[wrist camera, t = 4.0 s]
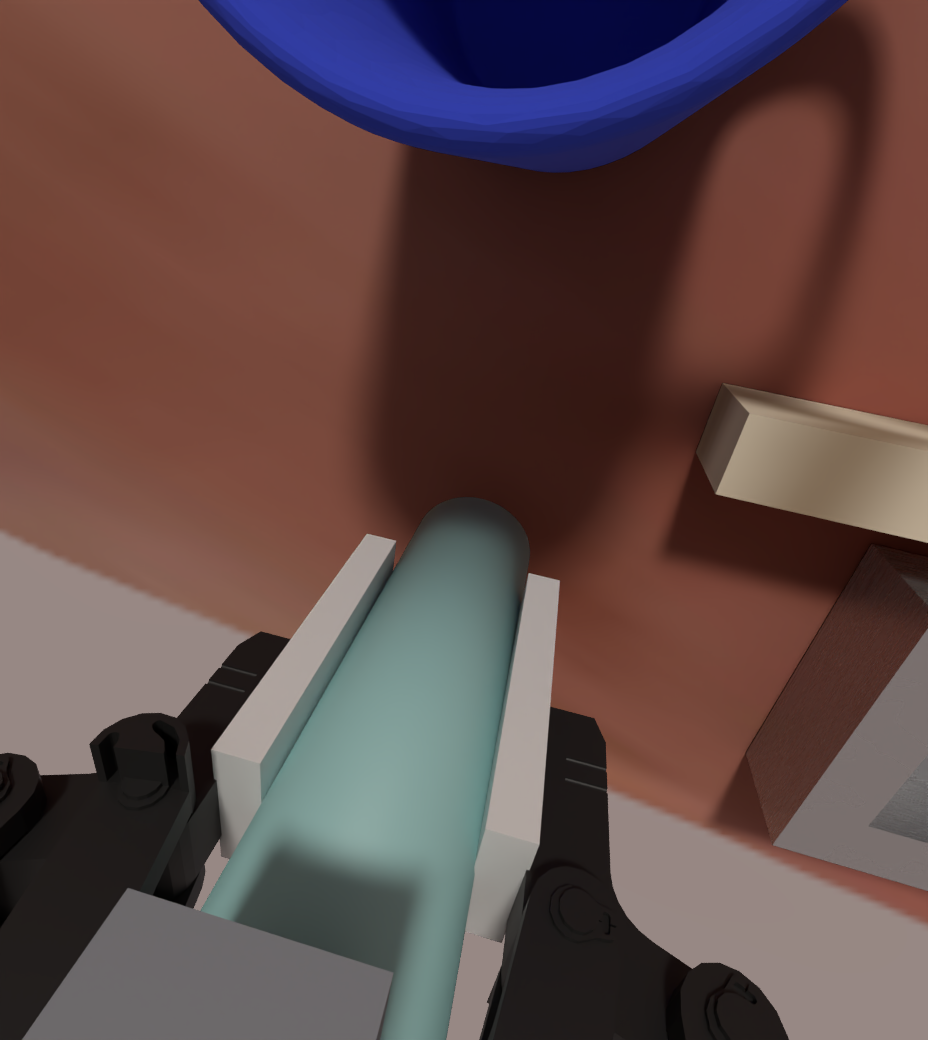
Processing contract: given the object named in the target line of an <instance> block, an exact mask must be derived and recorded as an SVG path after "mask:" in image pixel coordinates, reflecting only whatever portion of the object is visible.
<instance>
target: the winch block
mask: <svg viewBox="0 0 928 1040" xmlns="http://www.w3.org/2000/svg"><path fill="white" fill-rule="evenodd" d="M746 756H747V759H748V763H749V766H750V770H751V773H752V777H753V780H754V783H755V787H756V790H757V794H758V797H759V801H760V804H761V807H762V811H763V814H764V818H765V821H766V825H767V828H768V832H769V835H770V838H771V842H772V845H774V846H777V847H781V848H784V849H787V850H791V851H794V852H798V853H801V854H804V855H808V856H811V857H814V858H818V859H821V860H825V861H828V862H831V863H835V864H838V865H842V866H845V867H848V868H852V869H855V870H859V871H862V872H865V873H869V874H872V875H876V876H879V877H882V878H886V879H889V880H892V881H896V882H899V883H903V884H906V885H909V886H913V887H916V888H920V889H923V890H926V891H928V557H927V556H923V555H918V554H914V553H910V552H905V551H901V550H897V549H892V548H888V547H884V546H879V545H875V544H871V545H870V547H869V549H868V550H867V552H866V554H865V555H864V557H863V559H862V560H861V562H860V564H859V565H858V567H857V569H856V570H855V572H854V574H853V575H852V577H851V579H850V580H849V582H848V584H847V585H846V587H845V589H844V590H843V592H842V594H841V595H840V597H839V599H838V600H837V602H836V604H835V605H834V607H833V609H832V610H831V612H830V614H829V615H828V617H827V619H826V620H825V622H824V624H823V625H822V627H821V629H820V630H819V632H818V634H817V635H816V637H815V639H814V640H813V642H812V644H811V645H810V647H809V649H808V650H807V652H806V654H805V655H804V657H803V659H802V660H801V662H800V664H799V665H798V667H797V669H796V670H795V672H794V674H793V675H792V677H791V679H790V680H789V682H788V684H787V685H786V687H785V689H784V690H783V692H782V694H781V695H780V697H779V699H778V700H777V702H776V704H775V705H774V707H773V709H772V710H771V712H770V714H769V715H768V717H767V719H766V720H765V722H764V724H763V725H762V727H761V729H760V730H759V732H758V734H757V735H756V737H755V739H754V741H753V742H752V744H751V746H750V747H749V749H748V751H747V752H746Z"/></svg>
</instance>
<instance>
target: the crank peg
mask: <svg viewBox="0 0 928 1040" xmlns="http://www.w3.org/2000/svg"><path fill="white" fill-rule="evenodd" d="M529 559H530V547H529V541H528V538H527V535H526V533H525V531H524V529H523V527H522V526H521V524H520V523H519V522H518V520H517V519H516V518H515V517H514V516H513V515H512V514H511V513H510V512H508V511H507V510H506V509H504V508H503V507H501V506H499V505H498V504H495V503H493V502H491V501H488V500H484V499H481V498H475V497H459V498H454V499H450V500H447V501H444V502H442V503H440V504H438V505H436V506H435V507H434V508H432V509H431V510H430V511H429V512H428V513H427V514H426V515H425V516H424V518H423V519H422V521H421V523H420V525H419V526H418V528H417V530H416V532H415V533H414V535H413V537H412V539H411V540H410V542H409V544H408V546H407V547H406V549H405V551H404V553H403V554H402V556H401V558H400V560H399V562H398V563H397V565H396V567H395V569H394V570H393V572H392V574H391V576H390V577H389V579H388V581H387V583H386V584H385V586H384V588H383V590H382V592H381V593H380V595H379V597H378V599H377V600H376V602H375V604H374V606H373V607H372V609H371V611H370V613H369V614H368V616H367V618H366V620H365V621H364V623H363V625H362V627H361V629H360V630H359V632H358V634H357V636H356V637H355V639H354V641H353V643H352V644H351V646H350V648H349V650H348V651H347V653H346V655H345V657H344V659H343V660H342V662H341V664H340V666H339V667H338V669H337V671H336V673H335V674H334V676H333V678H332V680H331V681H330V683H329V685H328V687H327V688H326V690H325V692H324V694H323V696H322V697H321V699H320V701H319V703H318V704H317V706H316V708H315V710H314V711H313V713H312V715H311V717H310V718H309V720H308V722H307V724H306V726H305V727H304V729H303V731H302V733H301V734H300V736H299V738H298V740H297V741H296V743H295V745H294V747H293V748H292V750H291V752H290V754H289V755H288V757H287V759H286V761H285V763H284V764H283V766H282V768H281V770H280V771H279V773H278V775H277V777H276V778H275V780H274V782H273V784H272V785H271V787H270V789H269V791H268V793H267V794H266V796H265V798H264V800H263V801H262V803H261V805H260V807H259V808H258V810H257V812H256V814H255V815H254V817H253V819H252V821H251V822H250V824H249V826H248V828H247V830H246V831H245V833H244V835H243V837H242V838H241V840H240V842H239V844H238V845H237V847H236V849H235V851H234V852H233V854H232V856H231V858H230V860H229V861H228V863H227V865H226V867H225V868H224V870H223V872H222V874H221V875H220V877H219V879H218V881H217V882H216V884H215V886H214V888H213V890H212V891H211V893H210V895H209V897H208V898H207V900H206V902H205V904H204V905H203V907H202V909H201V911H198V910H195V909H192V908H189V907H186V906H183V905H180V904H177V903H174V902H170V901H167V900H164V899H161V898H158V897H155V896H152V895H148V894H145V893H142V892H139V891H136V890H133V889H130V888H127V890H126V891H125V893H124V894H123V896H122V897H121V898H120V900H119V901H118V903H117V904H116V906H115V907H114V908H113V910H112V911H111V913H110V914H109V916H108V917H107V919H106V920H105V921H104V923H103V924H102V926H101V927H100V929H99V930H98V931H97V933H96V934H95V936H94V937H93V939H92V940H91V941H90V943H89V944H88V946H87V947H86V949H85V950H84V952H83V953H82V954H81V956H80V957H79V959H78V960H77V962H76V963H75V964H74V966H73V967H72V969H71V970H70V972H69V973H68V974H67V976H66V977H65V979H64V980H63V982H62V983H61V985H60V986H59V987H58V989H57V990H56V992H55V993H54V995H53V996H52V997H51V999H50V1000H49V1002H48V1003H47V1005H46V1006H45V1007H44V1009H43V1010H42V1012H41V1013H40V1015H39V1016H38V1017H37V1019H36V1020H35V1022H34V1023H33V1025H32V1026H31V1028H30V1029H29V1030H28V1032H27V1033H26V1035H25V1036H24V1038H23V1039H22V1040H446V1037H447V1031H448V1026H449V1020H450V1015H451V1009H452V1003H453V997H454V991H455V986H456V980H457V974H458V968H459V963H460V957H461V951H462V945H463V940H464V934H465V928H466V922H467V917H468V911H469V905H470V899H471V893H472V888H473V882H474V876H475V871H474V865H475V860H476V854H477V848H478V843H479V837H480V831H481V826H482V820H483V814H484V809H485V803H486V798H487V792H488V786H489V781H490V775H491V769H492V764H493V758H494V752H495V747H496V741H497V735H498V730H499V724H500V718H501V713H502V707H503V701H504V696H505V690H506V684H507V679H508V673H509V667H510V662H511V656H512V650H513V645H514V639H515V633H516V628H517V622H518V616H519V611H520V605H521V601H522V597H523V593H524V588H525V582H526V576H527V570H528V565H529Z"/></svg>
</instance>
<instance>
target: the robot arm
mask: <svg viewBox="0 0 928 1040" xmlns="http://www.w3.org/2000/svg"><path fill="white" fill-rule="evenodd" d="M395 548H396V541H395V540H391V539H387V538H383V537H379V536H374V535H370V534H366V536H365V537H364V539H363V540H362V541H361V543H360V544H359V546H358V547H357V548H356V550H355V551H354V552H353V554H352V555H351V557H350V558H349V559H348V561H347V562H346V564H345V565H344V566H343V568H342V569H341V570H340V572H339V573H338V575H337V576H336V577H335V579H334V580H333V581H332V583H331V584H330V586H329V587H328V588H327V590H326V591H325V593H324V594H323V595H322V597H321V598H320V599H319V601H318V602H317V604H316V605H315V606H314V608H313V609H312V611H311V612H310V613H309V615H308V616H307V617H306V619H305V620H304V622H303V623H302V624H301V626H300V627H299V629H298V630H297V631H296V633H295V634H294V635H293V637H292V638H291V639H287V638H284V637H280V636H276V635H272V634H269V633H265V632H259V633H257V634H256V635H254V636H252V637H251V638H249V639H247V640H246V641H244V642H242V643H241V644H239V645H238V646H237V647H236V648H235V650H233V652H232V653H231V654H230V655H229V656H228V658H227V659H226V660H225V661H224V663H223V664H222V667H221V668H218V670H217V671H216V672H215V673H214V674H213V676H212V677H211V678H210V679H209V682H208V684H205V685H204V686H203V687H202V689H201V690H200V691H199V692H198V693H197V695H196V696H195V697H194V698H193V699H192V701H191V702H190V703H189V704H188V705H187V707H186V708H185V709H184V710H183V711H182V712H181V714H180V715H179V716H178V717H177V718H175V717H171V716H168V715H165V714H162V713H144V714H143V713H142V714H138V715H135V716H132V717H128V718H125V719H122V720H120V721H118V722H117V723H115V724H113V725H111V726H109V727H108V728H106V729H104V730H103V731H102V732H101V733H100V734H99V735H98V736H97V737H96V738H95V739H94V740H93V741H92V742H91V743H90V748H91V752H92V756H93V760H94V764H95V768H96V771H97V773H91V774H69V775H40V774H39V771H38V768H37V765H36V764H35V763H34V762H33V761H31V760H30V759H29V758H27V757H26V756H23V755H18V754H12V753H5V754H0V1040H22V1039H23V1038H24V1036H25V1035H26V1033H27V1032H28V1030H29V1029H30V1028H31V1026H32V1025H33V1023H34V1022H35V1020H36V1019H37V1017H38V1016H39V1015H40V1013H41V1012H42V1010H43V1009H44V1007H45V1006H46V1005H47V1003H48V1002H49V1000H50V999H51V997H52V996H53V995H54V993H55V992H56V990H57V989H58V987H59V986H60V985H61V983H62V982H63V980H64V979H65V977H66V976H67V974H68V973H69V972H70V970H71V969H72V967H73V966H74V964H75V963H76V962H77V960H78V959H79V957H80V956H81V954H82V953H83V952H84V950H85V949H86V947H87V946H88V944H89V943H90V941H91V940H92V939H93V937H94V936H95V934H96V933H97V931H98V930H99V929H100V927H101V926H102V924H103V923H104V921H105V920H106V919H107V917H108V916H109V914H110V913H111V911H112V910H113V908H114V907H115V906H116V904H117V903H118V901H119V900H120V898H121V897H122V896H123V894H124V893H125V891H126V890H127V888H130V889H133V890H136V891H139V892H142V893H145V894H148V895H152V896H155V897H158V898H161V899H164V900H167V901H170V902H174V903H177V904H180V905H183V906H186V907H189V908H192V909H193V908H194V906H195V903H196V901H197V898H198V896H199V894H200V891H201V889H202V885H203V881H204V876H205V865H204V864H205V862H206V860H207V859H208V857H209V855H210V854H211V852H212V850H213V849H214V847H215V845H216V843H217V842H218V840H219V839H220V846H221V856H222V857H225V858H228V859H230V858H231V856H232V854H233V852H234V851H235V849H236V847H237V845H238V844H239V842H240V840H241V838H242V837H243V835H244V833H245V831H246V830H247V828H248V826H249V824H250V822H251V821H252V819H253V817H254V815H255V814H256V812H257V810H258V808H259V807H260V805H261V803H262V801H263V800H264V798H265V796H266V794H267V793H268V791H269V789H270V787H271V785H272V784H273V782H274V780H275V778H276V777H277V775H278V773H279V771H280V770H281V768H282V766H283V764H284V763H285V761H286V759H287V757H288V755H289V754H290V752H291V750H292V748H293V747H294V745H295V743H296V741H297V740H298V738H299V736H300V734H301V733H302V731H303V729H304V727H305V726H306V724H307V722H308V720H309V718H310V717H311V715H312V713H313V711H314V710H315V708H316V706H317V704H318V703H319V701H320V699H321V697H322V696H323V694H324V692H325V690H326V688H327V687H328V685H329V683H330V681H331V680H332V678H333V676H334V674H335V673H336V671H337V669H338V667H339V666H340V664H341V662H342V660H343V659H344V657H345V655H346V653H347V651H348V650H349V648H350V646H351V644H352V643H353V641H354V639H355V637H356V636H357V634H358V632H359V630H360V629H361V627H362V625H363V623H364V621H365V620H366V618H367V616H368V614H369V613H370V611H371V609H372V607H373V606H374V604H375V602H376V600H377V599H378V597H379V595H380V593H381V592H382V590H383V588H384V586H385V584H386V583H387V581H388V579H389V577H390V576H391V574H392V572H393V565H394V557H395ZM559 584H560V581H559V580H555V579H551V578H547V577H543V576H539V575H535V574H531V573H529V574H528V578H527V582H526V586H525V589H524V593H523V597H522V601H521V605H520V611H519V616H518V622H517V628H516V633H515V639H514V645H513V650H512V656H511V662H510V667H509V673H508V679H507V684H506V690H505V696H504V701H503V707H502V713H501V718H500V724H499V730H498V735H497V741H496V747H495V752H494V758H493V764H492V769H491V775H490V781H489V786H488V792H487V798H486V803H485V809H484V814H483V820H482V826H481V831H480V837H479V843H478V848H477V854H476V860H475V865H474V871H475V876H474V882H473V888H472V893H471V899H470V905H469V911H468V917H467V922H466V928H465V932H468V933H471V934H474V935H478V936H481V937H484V938H487V939H491V940H494V941H497V942H502V940H503V938H504V935H505V944H504V952H503V961H502V966H501V968H500V971H499V973H498V976H497V979H496V981H495V983H494V986H493V988H492V991H491V993H490V996H489V998H488V1001H487V1003H489V1007H488V1011H487V1014H486V1018H485V1021H484V1025H483V1029H482V1032H481V1036H480V1039H479V1040H789V1039H788V1036H787V1034H786V1032H785V1029H784V1027H783V1025H782V1023H781V1020H780V1018H779V1016H778V1013H777V1011H776V1010H775V1009H774V1007H773V1006H772V1004H771V1003H770V1002H769V1000H768V999H767V998H766V996H765V995H764V994H763V992H762V991H761V990H760V988H758V987H757V986H756V985H755V984H754V983H753V982H751V981H750V980H749V979H748V978H747V977H745V976H744V975H743V974H742V973H741V972H739V971H737V970H735V969H732V968H730V967H728V966H725V965H723V964H721V963H701V964H699V965H698V966H697V967H695V968H693V969H692V968H690V967H689V966H687V965H686V964H684V963H683V962H681V961H680V960H678V959H677V958H675V957H674V956H673V955H671V954H670V953H668V952H667V951H665V950H664V949H662V948H661V947H659V946H658V945H656V944H655V943H653V942H652V941H651V940H649V939H648V938H647V937H646V936H645V935H644V934H642V933H641V932H640V931H639V930H638V929H637V928H636V927H635V926H634V924H633V923H632V922H631V921H630V920H629V919H628V917H627V916H626V914H625V913H624V911H623V909H622V907H621V906H620V904H619V902H618V900H617V897H616V895H615V892H614V889H613V887H612V880H611V874H610V850H609V822H608V794H607V772H606V768H607V767H606V742H605V740H604V738H603V736H602V734H601V732H600V730H599V727H598V725H597V723H596V721H595V719H594V718H591V717H587V716H583V715H580V714H576V713H572V712H568V711H565V710H561V709H557V708H553V707H550V701H551V688H552V675H553V662H554V649H555V636H556V623H557V610H558V597H559ZM505 933H506V934H505Z"/></svg>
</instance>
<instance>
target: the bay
mask: <svg viewBox="0 0 928 1040" xmlns="http://www.w3.org/2000/svg"><path fill="white" fill-rule="evenodd" d="M696 454H697V456H698V458H699V460H700V462H701V464H702V466H703V468H704V471H705V473H706V475H707V477H708V479H709V481H710V483H711V485H712V488H713V490H714V492H715V494H717V495H721V496H726V497H730V498H734V499H739V500H743V501H748V502H752V503H756V504H761V505H765V506H769V507H774V508H778V509H782V510H787V511H791V512H796V513H800V514H804V515H809V516H813V517H817V518H822V519H826V520H830V521H835V522H839V523H843V524H848V525H852V526H857V527H861V528H865V529H870V530H874V531H878V532H883V533H887V534H891V535H896V536H900V537H905V538H909V539H913V540H918V541H922V542H926V543H928V425H923V424H918V423H914V422H909V421H904V420H899V419H894V418H889V417H885V416H880V415H875V414H870V413H865V412H860V411H856V410H851V409H846V408H841V407H836V406H831V405H827V404H822V403H817V402H812V401H807V400H803V399H798V398H793V397H788V396H783V395H778V394H774V393H769V392H764V391H759V390H754V389H749V388H745V387H740V386H735V385H730V384H725V383H722V386H721V388H720V391H719V393H718V396H717V399H716V401H715V404H714V406H713V409H712V411H711V414H710V417H709V419H708V422H707V424H706V427H705V430H704V432H703V435H702V437H701V440H700V443H699V445H698V448H697V450H696Z"/></svg>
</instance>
